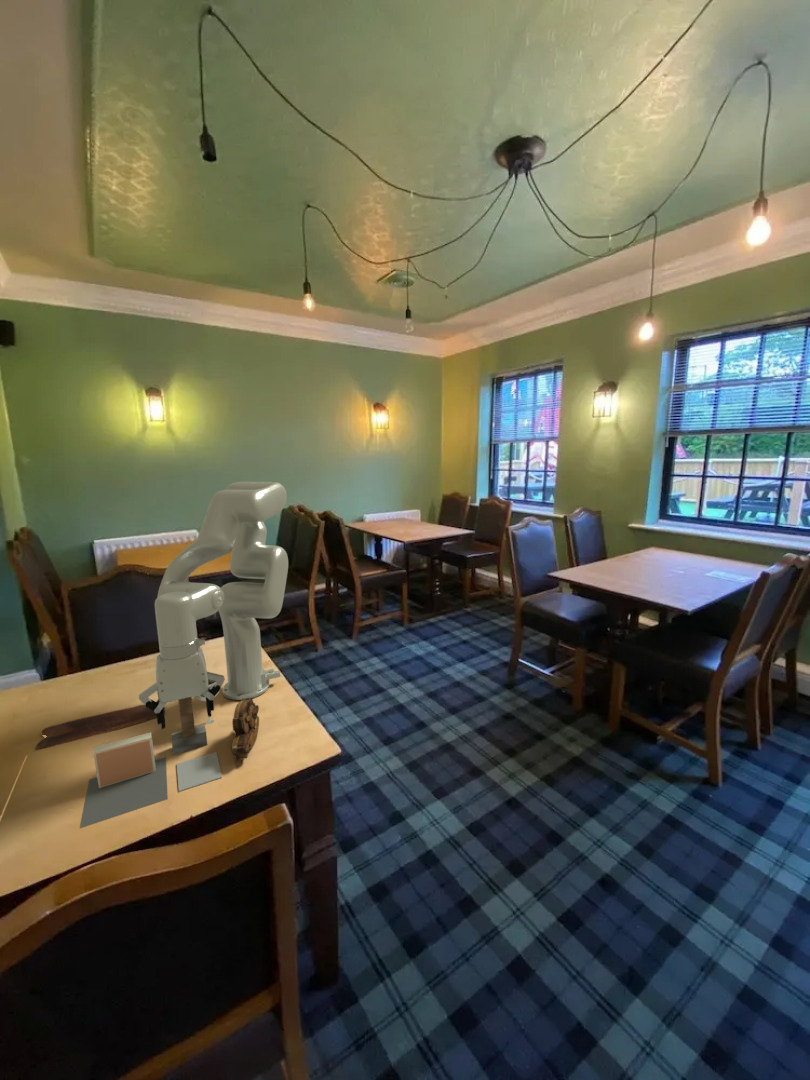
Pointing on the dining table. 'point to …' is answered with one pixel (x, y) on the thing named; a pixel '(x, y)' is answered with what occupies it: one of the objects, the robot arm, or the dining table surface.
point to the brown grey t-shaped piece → (188, 730)
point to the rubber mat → (124, 795)
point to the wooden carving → (245, 727)
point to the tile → (124, 759)
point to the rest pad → (198, 771)
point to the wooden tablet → (94, 725)
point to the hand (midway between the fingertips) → (186, 719)
